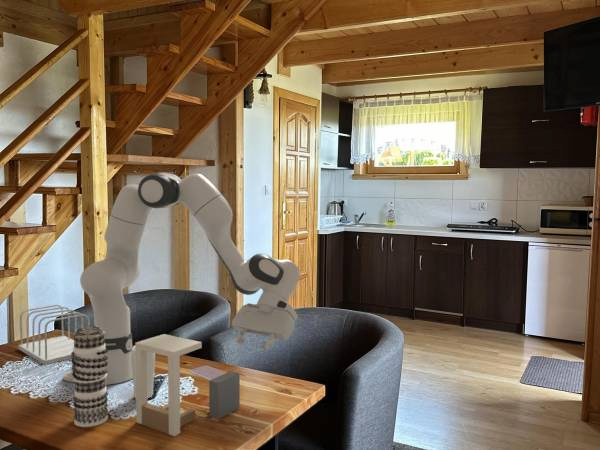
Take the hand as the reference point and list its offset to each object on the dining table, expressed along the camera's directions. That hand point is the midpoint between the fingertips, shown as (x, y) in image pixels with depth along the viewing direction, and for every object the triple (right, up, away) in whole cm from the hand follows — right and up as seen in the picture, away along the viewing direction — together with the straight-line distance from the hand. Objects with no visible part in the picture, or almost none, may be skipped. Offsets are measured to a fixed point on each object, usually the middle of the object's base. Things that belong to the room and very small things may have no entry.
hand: (251, 345), depth 157 cm
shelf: (-20, -17, -15) cm, 30 cm away
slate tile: (-7, -16, -9) cm, 20 cm away
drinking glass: (-32, -16, 0) cm, 36 cm away
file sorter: (-78, -12, +43) cm, 89 cm away
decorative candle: (-41, -17, -15) cm, 47 cm away
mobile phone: (-15, -15, +20) cm, 29 cm away
